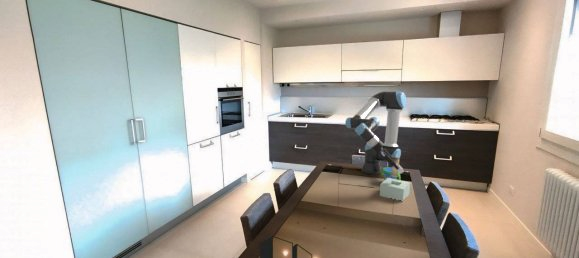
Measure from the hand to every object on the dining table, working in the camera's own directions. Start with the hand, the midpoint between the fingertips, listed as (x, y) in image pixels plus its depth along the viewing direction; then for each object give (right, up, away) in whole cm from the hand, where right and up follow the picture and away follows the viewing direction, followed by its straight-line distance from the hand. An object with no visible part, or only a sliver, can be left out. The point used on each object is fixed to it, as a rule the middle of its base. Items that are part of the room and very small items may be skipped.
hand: (401, 171), depth 161 cm
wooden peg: (-4, -3, +2) cm, 5 cm away
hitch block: (-3, -16, +4) cm, 17 cm away
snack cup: (+2, -13, +24) cm, 27 cm away
